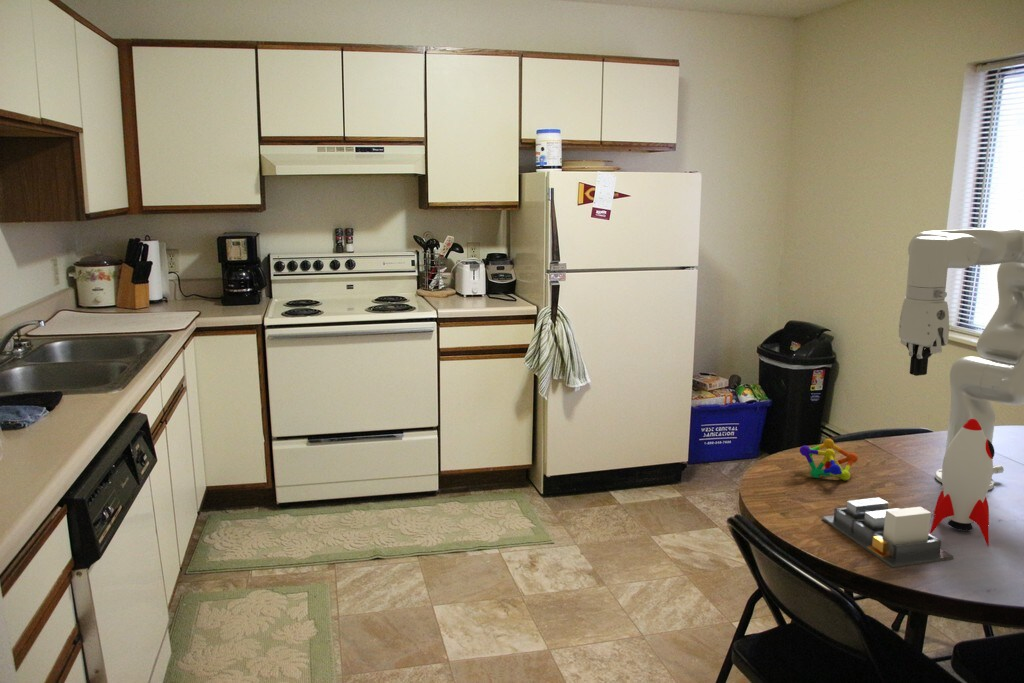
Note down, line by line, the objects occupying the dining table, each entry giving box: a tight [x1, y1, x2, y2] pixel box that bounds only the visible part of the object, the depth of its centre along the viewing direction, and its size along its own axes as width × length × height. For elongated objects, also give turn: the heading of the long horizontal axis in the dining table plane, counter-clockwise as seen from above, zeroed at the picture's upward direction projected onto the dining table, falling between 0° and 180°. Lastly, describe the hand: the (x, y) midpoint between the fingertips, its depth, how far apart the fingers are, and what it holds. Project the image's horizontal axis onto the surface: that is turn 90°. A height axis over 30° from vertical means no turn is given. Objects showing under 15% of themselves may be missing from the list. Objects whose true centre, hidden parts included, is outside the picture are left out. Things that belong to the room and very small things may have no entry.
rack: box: [821, 497, 954, 569], centre depth 158 cm, size 14×22×6 cm, turn 13°
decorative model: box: [799, 438, 859, 481], centre depth 192 cm, size 13×9×15 cm
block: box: [883, 506, 932, 545], centre depth 152 cm, size 8×3×8 cm, turn 102°
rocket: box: [929, 419, 995, 547], centre depth 159 cm, size 11×11×25 cm
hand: (918, 374), depth 169 cm, fingers closed
